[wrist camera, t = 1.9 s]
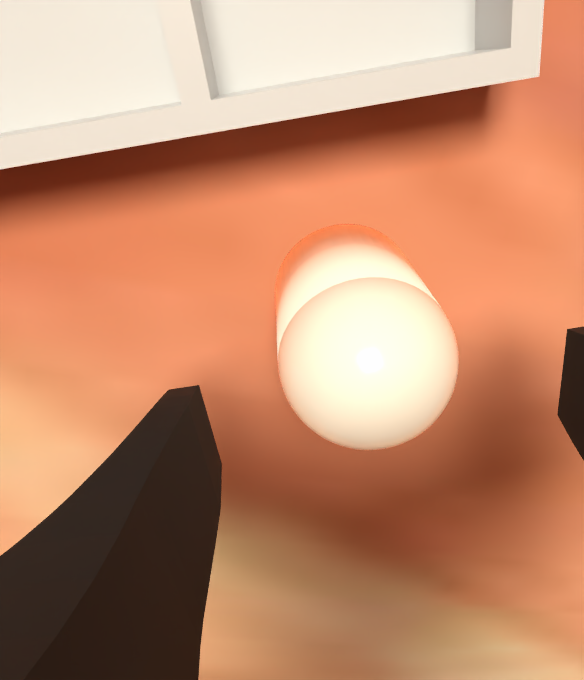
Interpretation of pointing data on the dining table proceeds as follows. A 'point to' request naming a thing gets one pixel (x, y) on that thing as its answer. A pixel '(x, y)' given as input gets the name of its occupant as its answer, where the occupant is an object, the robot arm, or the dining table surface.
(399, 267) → the cream egg
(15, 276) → the dining table surface
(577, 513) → the dining table surface
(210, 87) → the egg carton
